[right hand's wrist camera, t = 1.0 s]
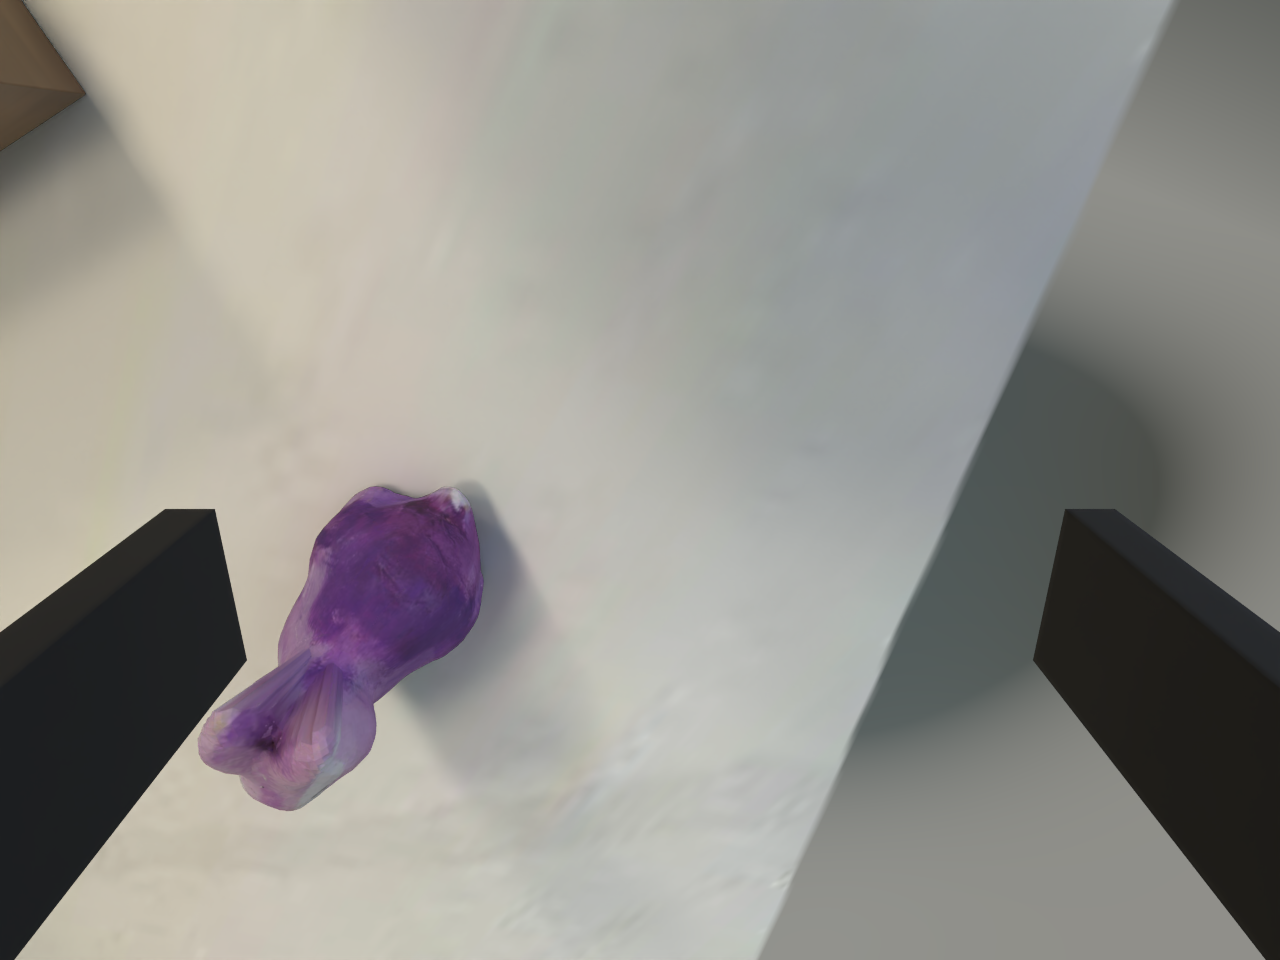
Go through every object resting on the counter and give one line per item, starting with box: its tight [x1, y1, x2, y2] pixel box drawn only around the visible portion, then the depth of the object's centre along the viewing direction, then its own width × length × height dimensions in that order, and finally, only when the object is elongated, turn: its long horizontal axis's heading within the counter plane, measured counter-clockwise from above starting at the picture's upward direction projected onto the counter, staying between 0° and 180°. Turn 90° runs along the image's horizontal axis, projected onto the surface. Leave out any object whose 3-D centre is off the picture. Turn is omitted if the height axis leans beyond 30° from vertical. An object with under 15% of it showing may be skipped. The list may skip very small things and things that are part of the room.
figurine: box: [198, 486, 484, 811], centre depth 34 cm, size 9×10×15 cm
